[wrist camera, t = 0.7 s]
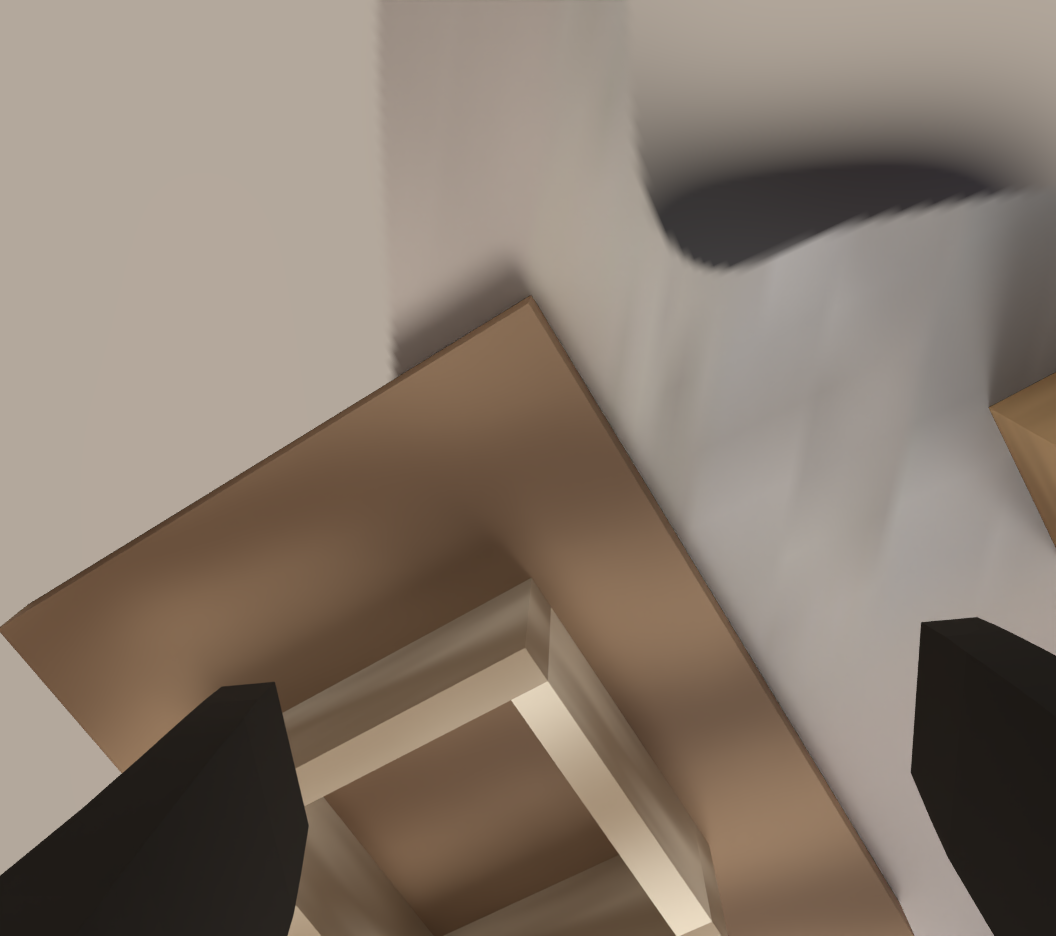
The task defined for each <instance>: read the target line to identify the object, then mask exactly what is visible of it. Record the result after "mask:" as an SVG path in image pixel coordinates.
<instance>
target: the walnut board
mask: <svg viewBox="0 0 1056 936" xmlns="http://www.w3.org/2000/svg"><path fill="white" fill-rule="evenodd" d="M0 633H1V634H2V635H3V636H4V637H5V638H6V639H7V641H8V642H9V643H10V644H11V645H12V646H13V648H14V649H15V650H16V651H17V652H18V653H19V654H20V656H21V657H22V658H23V659H24V660H25V661H26V662H27V664H28V665H29V666H30V667H31V668H32V670H33V671H34V672H35V673H36V674H37V675H38V677H39V678H40V679H41V680H42V681H43V682H44V683H45V685H46V686H47V687H48V688H49V689H50V691H51V692H52V693H53V694H54V695H55V696H56V697H57V698H58V700H59V701H60V702H61V703H62V704H63V706H64V707H65V708H66V709H67V710H68V711H69V712H70V714H71V715H72V716H73V717H74V718H75V719H76V721H77V722H78V723H79V724H80V725H81V726H82V728H83V729H84V730H85V731H86V732H87V733H88V735H89V736H90V737H91V738H92V739H93V740H94V741H95V743H96V744H97V745H98V746H99V747H100V749H101V750H102V751H103V752H104V753H105V754H106V755H107V757H108V758H109V759H110V760H111V761H112V762H113V764H114V765H115V766H116V767H117V768H118V769H119V771H121V773H123V772H124V771H125V770H126V769H128V768H129V767H130V766H131V765H132V764H133V763H134V762H135V761H137V760H138V759H139V758H140V757H141V756H142V755H143V754H144V753H146V752H147V751H148V750H149V749H150V748H151V747H152V746H153V745H154V744H156V743H157V742H158V741H159V740H160V739H161V738H162V737H163V736H164V735H166V734H167V733H168V732H169V731H170V730H171V729H172V728H173V727H174V726H176V725H177V724H178V723H179V722H180V721H181V720H182V719H183V718H185V717H186V716H187V715H188V714H189V713H190V712H191V711H192V710H194V709H195V708H196V707H197V706H198V705H199V704H201V703H202V702H203V701H204V700H205V699H206V698H208V697H209V696H210V695H211V694H213V693H214V692H215V691H217V690H218V689H219V688H220V687H223V686H233V685H244V684H255V683H266V682H275V684H276V688H277V693H278V697H279V701H280V705H281V710H282V714H283V718H284V722H285V727H286V731H287V735H288V739H289V744H290V748H291V752H292V756H293V761H294V765H295V769H296V773H297V778H298V782H299V786H300V790H301V794H302V799H303V803H304V807H305V811H306V816H307V820H308V824H309V828H308V835H307V841H306V847H305V854H304V860H303V866H302V872H301V878H300V883H299V889H298V894H297V900H296V905H295V911H294V915H293V919H292V922H291V926H290V929H289V933H288V936H914V934H913V932H912V929H911V927H910V925H909V923H908V920H907V918H906V916H905V914H904V912H903V909H902V907H901V905H900V903H899V902H898V900H897V898H896V897H895V895H894V893H893V892H892V890H891V888H890V887H889V885H888V883H887V882H886V880H885V878H884V877H883V875H882V873H881V872H880V870H879V869H878V867H877V865H876V864H875V862H874V860H873V859H872V857H871V855H870V854H869V852H868V850H867V849H866V847H865V845H864V844H863V842H862V840H861V839H860V837H859V836H858V834H857V832H856V831H855V829H854V827H853V826H852V824H851V822H850V821H849V819H848V817H847V816H846V814H845V812H844V811H843V809H842V807H841V806H840V804H839V803H838V801H837V799H836V798H835V796H834V794H833V793H832V791H831V789H830V788H829V786H828V784H827V783H826V781H825V779H824V778H823V776H822V774H821V773H820V771H819V769H818V768H817V766H816V765H815V763H814V761H813V760H812V758H811V756H810V755H809V753H808V751H807V750H806V748H805V746H804V745H803V743H802V741H801V740H800V738H799V736H798V735H797V733H796V732H795V730H794V728H793V727H792V725H791V723H790V722H789V720H788V718H787V717H786V715H785V713H784V712H783V710H782V708H781V707H780V705H779V703H778V702H777V700H776V699H775V697H774V695H773V694H772V692H771V690H770V689H769V687H768V685H767V684H766V682H765V680H764V679H763V677H762V675H761V674H760V672H759V670H758V669H757V667H756V665H755V664H754V662H753V661H752V659H751V657H750V656H749V654H748V652H747V651H746V649H745V647H744V646H743V644H742V642H741V641H740V639H739V637H738V636H737V634H736V632H735V631H734V629H733V628H732V626H731V624H730V623H729V621H728V619H727V618H726V616H725V614H724V613H723V611H722V609H721V608H720V606H719V604H718V603H717V601H716V599H715V598H714V596H713V595H712V593H711V591H710V590H709V588H708V586H707V585H706V583H705V581H704V580H703V578H702V576H701V575H700V573H699V571H698V570H697V568H696V566H695V565H694V563H693V561H692V560H691V558H690V557H689V555H688V553H687V552H686V550H685V548H684V547H683V545H682V543H681V542H680V540H679V538H678V537H677V535H676V533H675V532H674V530H673V528H672V527H671V525H670V524H669V522H668V520H667V519H666V517H665V515H664V514H663V512H662V510H661V509H660V507H659V505H658V504H657V502H656V500H655V499H654V497H653V495H652V494H651V492H650V491H649V489H648V487H647V486H646V484H645V482H644V481H643V479H642V477H641V476H640V474H639V472H638V471H637V469H636V467H635V466H634V464H633V462H632V461H631V459H630V457H629V456H628V454H627V453H626V451H625V449H624V448H623V446H622V444H621V443H620V441H619V439H618V438H617V436H616V434H615V433H614V431H613V429H612V428H611V426H610V424H609V423H608V421H607V420H606V418H605V416H604V415H603V413H602V411H601V410H600V408H599V406H598V405H597V403H596V401H595V400H594V398H593V396H592V395H591V393H590V391H589V390H588V388H587V387H586V385H585V383H584V382H583V380H582V378H581V377H580V375H579V373H578V372H577V370H576V368H575V367H574V365H573V363H572V362H571V360H570V358H569V357H568V355H567V353H566V352H565V350H564V349H563V347H562V345H561V344H560V342H559V340H558V339H557V337H556V335H555V334H554V332H553V330H552V329H551V327H550V325H549V324H548V322H547V320H546V319H545V317H544V316H543V314H542V312H541V311H540V309H539V307H538V306H537V304H536V302H535V301H534V299H533V297H532V296H531V295H530V296H529V297H527V298H525V299H524V300H522V301H521V302H519V303H517V304H516V305H514V306H512V307H511V308H509V309H508V310H506V311H504V312H503V313H501V314H499V315H498V316H496V317H495V318H493V319H491V320H490V321H488V322H486V323H485V324H483V325H482V326H480V327H478V328H477V329H475V330H473V331H472V332H470V333H469V334H467V335H465V336H464V337H462V338H460V339H459V340H457V341H456V342H454V343H452V344H451V345H449V346H447V347H446V348H444V349H443V350H441V351H439V352H438V353H436V354H434V355H433V356H431V357H430V358H428V359H426V360H425V361H423V362H421V363H420V364H418V365H417V366H415V367H413V368H412V369H410V370H408V371H407V372H405V373H404V374H402V375H400V376H399V377H397V378H395V379H394V380H392V381H391V382H389V383H387V384H386V385H384V386H382V387H381V388H379V389H378V390H376V391H374V392H373V393H371V394H369V395H368V396H366V397H365V398H363V399H361V400H360V401H358V402H356V403H355V404H353V405H352V406H350V407H348V408H347V409H345V410H343V411H342V412H340V413H339V414H337V415H335V416H334V417H332V418H330V419H329V420H327V421H326V422H324V423H322V424H321V425H319V426H317V427H316V428H314V429H313V430H311V431H309V432H308V433H306V434H304V435H303V436H301V437H300V438H298V439H296V440H295V441H293V442H291V443H290V444H288V445H287V446H285V447H283V448H282V449H280V450H279V451H277V452H275V453H274V454H272V455H270V456H269V457H267V458H266V459H264V460H262V461H261V462H259V463H257V464H256V465H254V466H252V467H251V468H249V469H248V470H246V471H245V472H243V473H241V474H240V475H238V476H236V477H235V478H233V479H231V480H230V481H228V482H227V483H225V484H223V485H222V486H220V487H218V488H217V489H215V490H213V491H212V492H210V493H209V494H207V495H206V496H204V497H202V498H200V499H199V500H198V501H196V502H194V503H192V504H191V505H189V506H187V507H186V508H184V509H183V510H181V511H179V512H178V513H176V514H174V515H173V516H171V517H170V518H168V519H166V520H165V521H163V522H161V523H160V524H158V525H157V526H155V527H153V528H152V529H150V530H148V531H147V532H145V533H144V534H142V535H140V536H139V537H137V538H135V539H134V540H132V541H131V542H129V543H127V544H126V545H124V546H123V547H121V548H119V549H118V550H116V551H114V552H113V553H111V554H109V555H108V556H106V557H105V558H103V559H101V560H100V561H98V562H96V563H95V564H93V565H92V566H90V567H88V568H87V569H85V570H83V571H82V572H80V573H79V574H77V575H75V576H74V577H72V578H70V579H69V580H67V581H66V582H64V583H62V584H61V585H59V586H57V587H56V588H54V589H53V590H51V591H49V592H48V593H46V594H44V595H43V596H41V597H40V598H38V599H36V600H35V601H33V602H31V603H30V604H28V605H27V606H26V607H24V608H23V609H22V610H21V611H19V612H18V613H17V614H16V615H14V616H13V617H12V618H11V619H9V620H8V621H7V622H6V623H5V624H3V625H2V626H1V627H0Z"/></svg>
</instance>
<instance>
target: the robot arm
mask: <svg viewBox="0 0 1056 936" xmlns="http://www.w3.org/2000/svg"><path fill="white" fill-rule="evenodd" d="M911 774H912V777H913V779H914V781H915V784H916V786H917V788H918V791H919V793H920V795H921V798H922V800H923V803H924V805H925V807H926V810H927V812H928V814H929V817H930V819H931V821H932V823H933V826H934V828H935V830H936V832H937V834H938V837H939V839H940V841H941V843H942V845H943V847H944V850H945V852H946V854H947V856H948V858H949V860H950V862H951V863H952V865H953V867H954V869H955V870H956V872H957V874H958V875H959V877H960V879H961V881H962V882H963V884H964V886H965V887H966V889H967V891H968V892H969V894H970V896H971V897H972V899H973V901H974V902H975V904H976V906H977V907H978V909H979V911H980V913H981V914H982V916H983V918H984V919H985V921H986V923H987V924H988V926H989V928H990V929H991V931H992V933H993V934H994V936H1056V656H1055V655H1053V654H1051V653H1050V652H1048V651H1046V650H1044V649H1042V648H1040V647H1038V646H1036V645H1034V644H1032V643H1030V642H1028V641H1026V640H1024V639H1023V638H1021V637H1019V636H1017V635H1015V634H1013V633H1011V632H1009V631H1007V630H1004V629H1002V628H1000V627H998V626H996V625H994V624H992V623H989V622H987V621H985V620H982V619H980V618H978V617H975V618H964V619H953V620H942V621H931V622H921V633H920V647H919V662H918V677H917V691H916V706H915V720H914V735H913V749H912V764H911ZM308 828H309V824H308V820H307V816H306V811H305V807H304V803H303V799H302V794H301V790H300V786H299V782H298V778H297V773H296V769H295V765H294V761H293V756H292V752H291V748H290V744H289V739H288V735H287V731H286V727H285V722H284V718H283V714H282V710H281V705H280V701H279V697H278V693H277V688H276V684H275V682H266V683H255V684H244V685H233V686H223V687H220V688H219V689H218V690H217V691H215V692H214V693H213V694H211V695H210V696H209V697H208V698H206V699H205V700H204V701H203V702H202V703H201V704H199V705H198V706H197V707H196V708H195V709H194V710H192V711H191V712H190V713H189V714H188V715H187V716H186V717H185V718H183V719H182V720H181V721H180V722H179V723H178V724H177V725H176V726H174V727H173V728H172V729H171V730H170V731H169V732H168V733H167V734H166V735H164V736H163V737H162V738H161V739H160V740H159V741H158V742H157V743H156V744H154V745H153V746H152V747H151V748H150V749H149V750H148V751H147V752H146V753H144V754H143V755H142V756H141V757H140V758H139V759H138V760H137V761H135V762H134V763H133V764H132V765H131V766H130V767H129V768H128V769H126V770H125V771H124V772H123V773H122V774H121V775H120V776H118V777H117V778H116V779H115V780H114V781H113V782H112V783H111V784H109V785H108V786H107V787H106V788H105V789H104V790H103V791H102V792H100V793H99V794H98V795H97V796H96V797H95V798H94V799H92V800H91V801H90V802H89V803H88V804H87V805H86V806H85V807H83V808H82V809H81V810H80V811H79V812H77V813H76V814H75V815H74V816H72V817H71V818H70V819H69V820H68V821H66V822H65V823H64V824H63V825H62V826H60V827H59V828H58V829H57V830H55V831H54V832H53V833H52V834H51V835H49V836H48V837H47V838H46V839H44V840H43V841H42V842H41V843H40V844H38V845H37V846H36V847H35V848H33V849H32V850H31V851H30V852H29V853H27V854H26V855H25V856H24V857H23V858H21V859H20V860H19V861H18V862H16V863H15V864H14V865H13V866H12V867H10V868H9V869H8V870H7V871H5V872H4V873H3V874H2V875H1V876H0V936H288V933H289V929H290V926H291V922H292V919H293V915H294V911H295V905H296V900H297V894H298V889H299V883H300V878H301V872H302V866H303V860H304V854H305V847H306V841H307V835H308Z"/></svg>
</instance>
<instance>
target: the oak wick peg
mask: <svg viewBox="0 0 1056 936" xmlns="http://www.w3.org/2000/svg"><path fill="white" fill-rule="evenodd" d="M989 409H990V411H991V413H992V416H993V418H994V420H995V422H996V424H997V426H998V428H999V430H1000V432H1001V434H1002V436H1003V438H1004V441H1005V443H1006V445H1007V447H1008V449H1009V451H1010V453H1011V455H1012V457H1013V459H1014V461H1015V463H1016V466H1017V468H1018V470H1019V472H1020V474H1021V476H1022V478H1023V480H1024V482H1025V484H1026V486H1027V488H1028V491H1029V493H1030V495H1031V497H1032V499H1033V501H1034V503H1035V505H1036V507H1037V509H1038V511H1039V513H1040V516H1041V518H1042V520H1043V522H1044V524H1045V526H1046V528H1047V530H1048V532H1049V534H1050V536H1051V539H1052V541H1053V543H1054V545H1055V547H1056V372H1055V373H1053V374H1052V375H1050V376H1048V377H1046V378H1044V379H1042V380H1040V381H1038V382H1036V383H1034V384H1033V385H1031V386H1029V387H1027V388H1025V389H1023V390H1021V391H1019V392H1017V393H1015V394H1013V395H1012V396H1010V397H1008V398H1006V399H1004V400H1002V401H1000V402H998V403H996V404H994V405H993V406H991V407H989Z"/></svg>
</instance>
